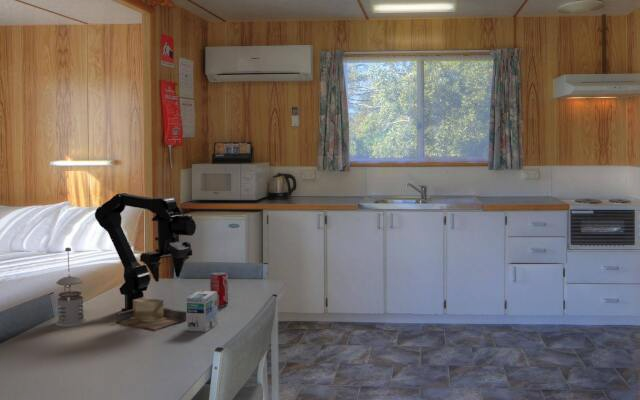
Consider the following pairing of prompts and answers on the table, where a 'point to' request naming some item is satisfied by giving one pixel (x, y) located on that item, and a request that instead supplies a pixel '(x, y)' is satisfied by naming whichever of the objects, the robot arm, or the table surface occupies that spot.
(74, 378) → the table surface
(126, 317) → the tray
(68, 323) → the french press
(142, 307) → the maple block
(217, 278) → the soda can
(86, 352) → the table surface
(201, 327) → the light bulb box
